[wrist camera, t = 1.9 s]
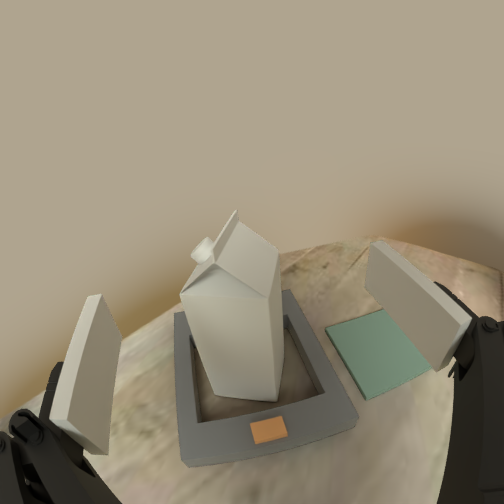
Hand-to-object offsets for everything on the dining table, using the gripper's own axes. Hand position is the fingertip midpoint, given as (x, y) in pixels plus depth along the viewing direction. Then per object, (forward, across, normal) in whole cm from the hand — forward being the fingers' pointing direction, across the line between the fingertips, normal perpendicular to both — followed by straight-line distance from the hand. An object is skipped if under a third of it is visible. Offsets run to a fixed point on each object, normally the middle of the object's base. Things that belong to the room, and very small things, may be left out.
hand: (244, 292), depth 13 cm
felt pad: (+8, +18, -20) cm, 27 cm away
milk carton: (+10, 0, -20) cm, 22 cm away
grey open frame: (+10, 0, -20) cm, 22 cm away
